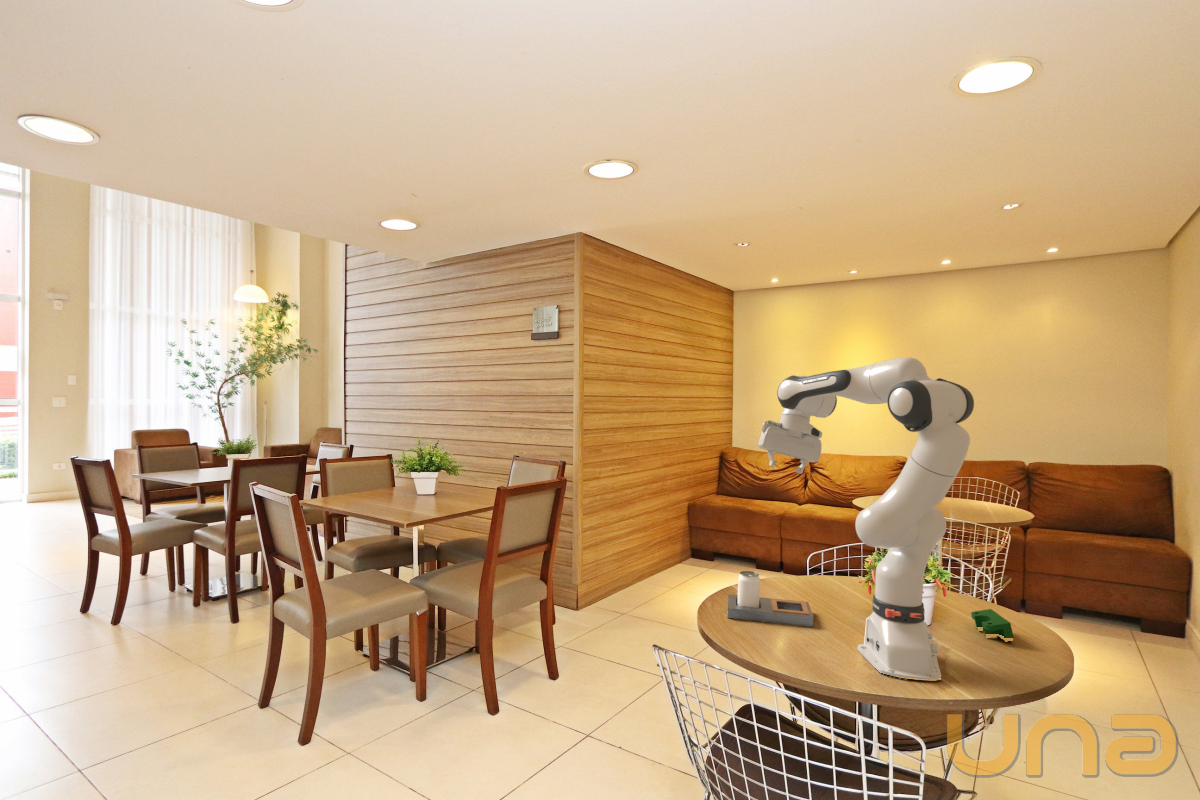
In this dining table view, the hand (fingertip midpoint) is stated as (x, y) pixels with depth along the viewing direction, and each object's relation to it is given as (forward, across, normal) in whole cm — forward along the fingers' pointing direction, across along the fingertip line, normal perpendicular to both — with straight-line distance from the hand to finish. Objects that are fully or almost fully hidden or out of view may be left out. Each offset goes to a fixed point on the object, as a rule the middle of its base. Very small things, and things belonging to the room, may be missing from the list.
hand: (785, 469), depth 194 cm
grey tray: (+44, +3, -1) cm, 44 cm away
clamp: (+34, +58, -26) cm, 72 cm away
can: (+45, -3, +1) cm, 45 cm away
